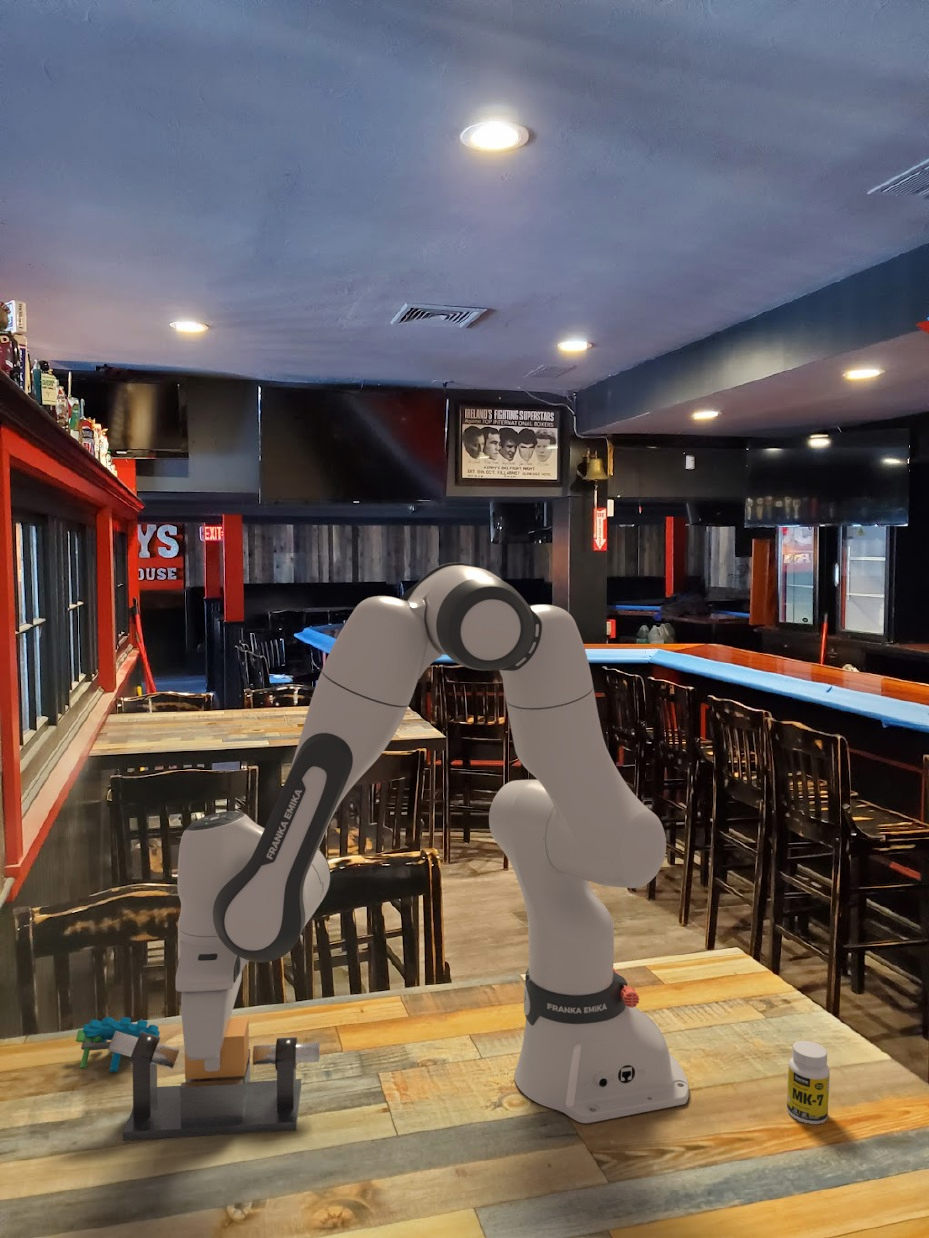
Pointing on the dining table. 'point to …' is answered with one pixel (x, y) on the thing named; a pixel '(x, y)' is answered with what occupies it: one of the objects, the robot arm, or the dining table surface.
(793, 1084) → the supplement bottle
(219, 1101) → the shaft stand
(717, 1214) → the dining table surface
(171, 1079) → the dining table surface
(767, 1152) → the dining table surface
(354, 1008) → the dining table surface
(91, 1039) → the gear
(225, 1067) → the block
